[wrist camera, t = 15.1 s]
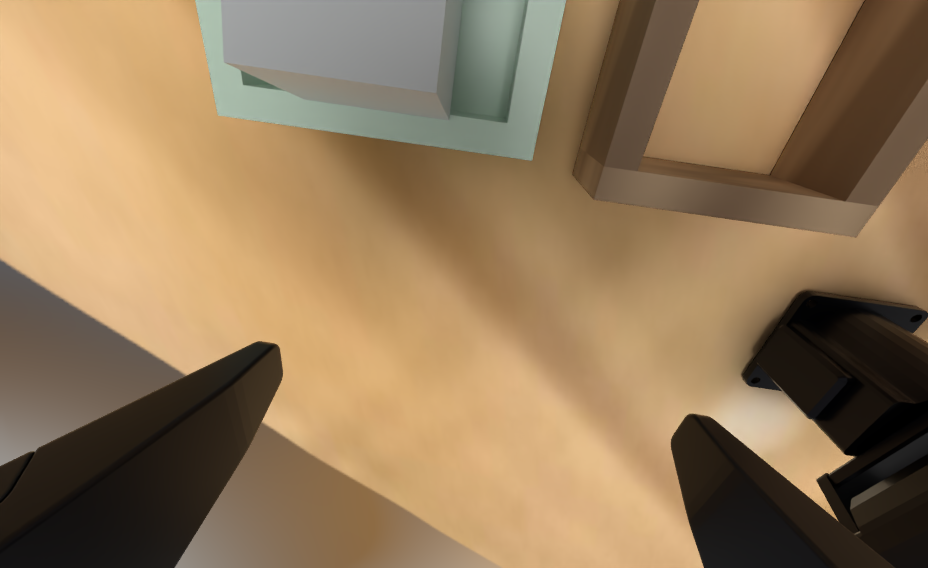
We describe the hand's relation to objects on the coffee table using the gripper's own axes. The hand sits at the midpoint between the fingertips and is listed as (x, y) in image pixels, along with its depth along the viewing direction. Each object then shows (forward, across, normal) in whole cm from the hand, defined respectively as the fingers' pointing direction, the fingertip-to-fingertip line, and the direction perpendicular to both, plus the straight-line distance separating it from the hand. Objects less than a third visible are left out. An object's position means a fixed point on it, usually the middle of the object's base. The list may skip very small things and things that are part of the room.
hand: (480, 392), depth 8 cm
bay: (+12, -8, -7) cm, 16 cm away
